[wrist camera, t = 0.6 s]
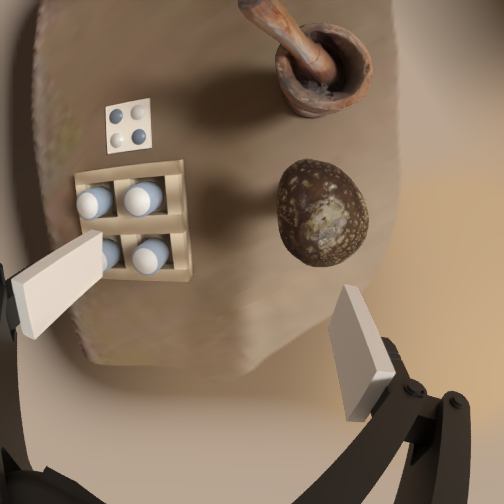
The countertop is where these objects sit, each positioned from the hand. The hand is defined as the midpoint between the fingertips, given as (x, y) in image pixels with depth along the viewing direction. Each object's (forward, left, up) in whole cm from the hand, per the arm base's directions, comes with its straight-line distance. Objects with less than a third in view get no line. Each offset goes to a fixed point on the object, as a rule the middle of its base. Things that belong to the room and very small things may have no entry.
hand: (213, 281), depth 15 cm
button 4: (+6, -13, -23) cm, 27 cm away
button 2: (-1, -13, -23) cm, 26 cm away
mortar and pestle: (-14, +6, -26) cm, 30 cm away
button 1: (-1, -21, -23) cm, 31 cm away
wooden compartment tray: (+3, -17, -25) cm, 31 cm away
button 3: (+6, -21, -23) cm, 31 cm away
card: (-11, -17, -25) cm, 32 cm away
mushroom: (0, +7, -26) cm, 27 cm away
